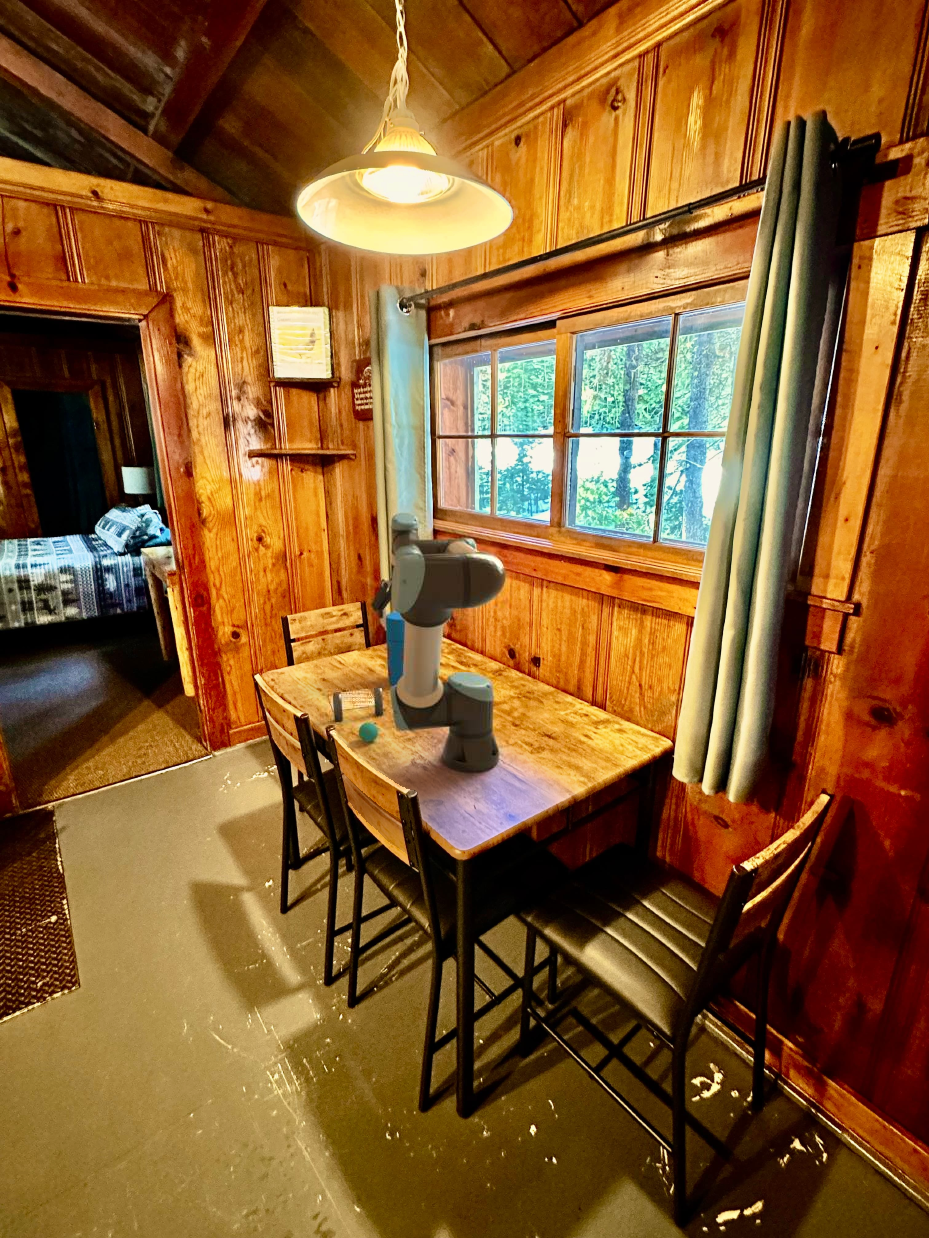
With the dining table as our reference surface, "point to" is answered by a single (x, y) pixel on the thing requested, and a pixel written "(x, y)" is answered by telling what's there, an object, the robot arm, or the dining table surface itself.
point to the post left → (337, 707)
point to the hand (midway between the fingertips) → (403, 619)
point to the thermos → (395, 646)
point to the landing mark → (354, 699)
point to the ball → (368, 732)
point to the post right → (378, 701)
